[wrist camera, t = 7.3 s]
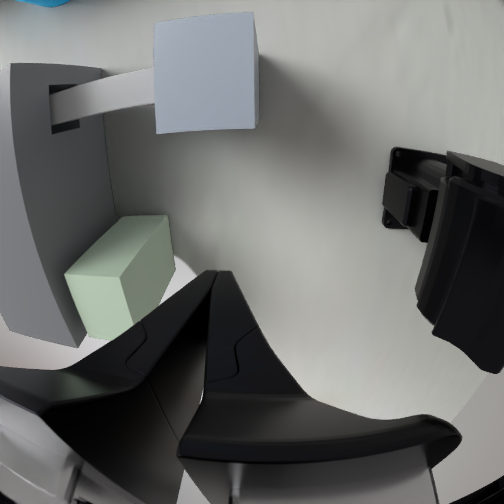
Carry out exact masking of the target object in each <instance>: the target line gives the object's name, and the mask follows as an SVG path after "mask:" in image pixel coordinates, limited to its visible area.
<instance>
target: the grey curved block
mask: <svg viewBox="0 0 504 504" xmlns="http://www.w3.org/2000/svg"><path fill="white" fill-rule="evenodd" d="M99 79H102V74H101V68H94V67H85V66H75V65H62V64H42V63H10V64H9V65H7V66H5V67H4V68H2V69H0V313H1V315H2V317H3V319H4V321H5V323H6V325H7V326H8V328H9V330H10V331H12V332H16V333H19V334H22V335H26V336H30V337H33V338H37V339H41V340H45V341H49V342H53V343H57V344H61V345H65V346H70V347H74V348H78V347H79V346H80V344H81V342H82V341H83V339H84V338H85V336H86V334H87V331H86V328H85V326H84V324H83V322H82V319H81V317H80V315H79V312H78V310H77V307H76V305H75V302H74V300H73V297H72V295H71V292H70V289H69V287H68V284H67V281H66V278H65V276H64V274H65V273H66V272H67V271H68V269H69V268H70V267H71V266H72V265H73V264H74V263H75V262H76V261H77V260H78V259H79V258H80V257H81V256H82V255H83V254H84V253H85V252H86V251H87V250H88V249H89V248H90V247H91V246H92V245H93V244H94V243H95V242H96V241H97V240H98V239H99V238H100V237H101V236H103V235H104V234H105V233H106V232H107V231H108V230H109V229H110V228H111V227H112V226H113V225H114V224H115V223H116V222H117V217H116V212H115V206H114V201H113V195H112V188H111V182H110V175H109V168H108V160H107V151H106V142H105V131H104V119H103V114H99V115H94V116H90V117H86V118H82V119H78V120H74V121H70V122H66V123H63V124H59V125H56V126H52V127H51V120H50V105H49V95H52V94H55V93H58V92H60V91H63V90H66V89H69V88H72V87H75V86H79V85H82V84H85V83H88V82H92V81H95V80H99Z"/></svg>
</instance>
